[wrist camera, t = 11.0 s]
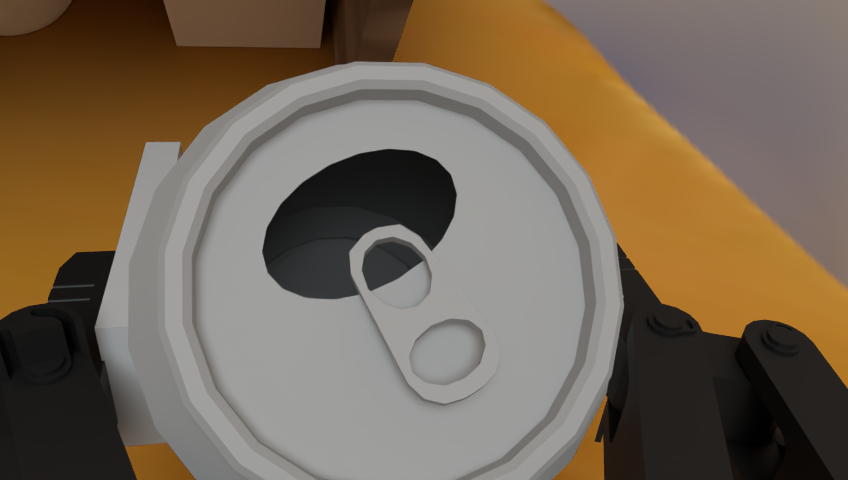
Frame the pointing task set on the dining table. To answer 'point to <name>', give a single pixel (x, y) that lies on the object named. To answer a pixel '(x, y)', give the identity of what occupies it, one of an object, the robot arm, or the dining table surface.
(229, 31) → the block
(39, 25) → the candle
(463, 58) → the dining table surface
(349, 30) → the wooden box
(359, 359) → the can
